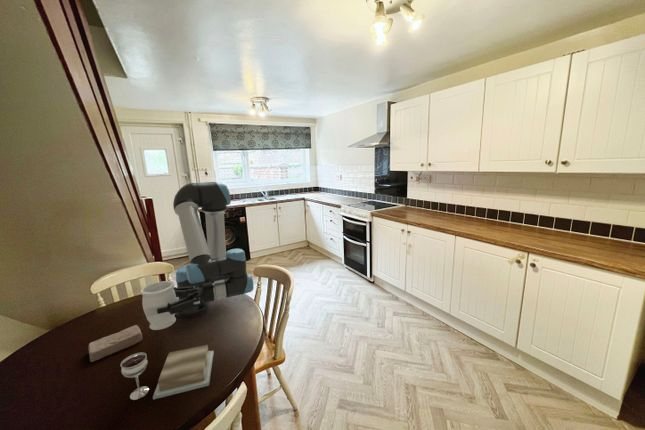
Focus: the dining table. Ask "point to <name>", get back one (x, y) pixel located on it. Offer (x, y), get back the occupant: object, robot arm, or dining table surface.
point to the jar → (159, 303)
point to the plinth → (184, 368)
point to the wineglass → (135, 372)
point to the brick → (114, 343)
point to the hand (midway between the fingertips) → (148, 305)
